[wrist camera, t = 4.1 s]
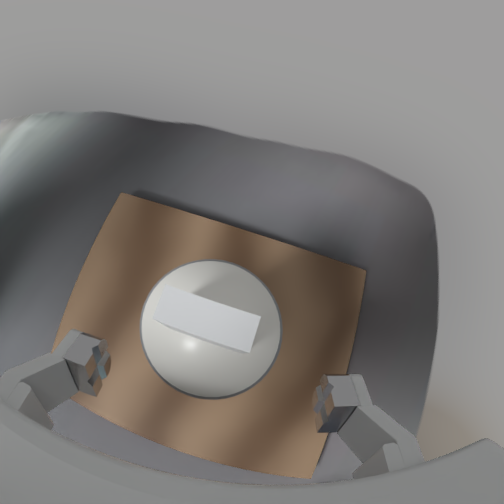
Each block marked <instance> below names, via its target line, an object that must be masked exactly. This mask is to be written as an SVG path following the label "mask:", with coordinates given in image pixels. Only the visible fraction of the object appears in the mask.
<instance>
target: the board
mask: <svg viewBox="0 0 504 504" xmlns="http://www.w3.org/2000/svg"><path fill="white" fill-rule="evenodd" d="M203 259H217V260H224V261H228V262H232V263H235V264H237V265H240V266H242V267H244V268H245V269H247V270H249V271H250V272H252V273H253V274H255V275H256V276H257V277H258V278H259V279H260V280H262V281H263V282H264V284H265V285H266V286H267V287H268V288H269V290H270V291H271V293H272V294H273V296H274V298H275V300H276V302H277V304H278V307H279V310H280V313H281V318H282V327H283V334H282V343H281V348H280V351H279V354H278V357H277V359H276V361H275V363H274V365H273V367H272V368H271V370H270V371H269V372H268V374H267V375H266V376H265V377H264V378H263V379H262V380H261V381H260V382H259V383H258V384H256V385H255V386H254V387H253V388H251V389H249V390H247V391H246V392H244V393H241V394H239V395H237V396H234V397H230V398H226V399H218V400H206V399H199V398H195V397H191V396H188V395H185V394H183V393H181V392H179V391H177V390H175V389H174V388H172V387H170V386H169V385H168V384H166V383H165V382H164V381H163V380H162V379H161V378H160V377H159V376H158V375H157V374H156V373H155V371H154V370H153V369H152V367H151V366H150V364H149V362H148V360H147V359H146V356H145V354H144V351H143V348H142V344H141V340H140V317H141V312H142V308H143V305H144V303H145V300H146V298H147V296H148V294H149V293H150V291H151V290H152V288H153V287H154V286H155V284H156V283H157V282H158V281H159V280H160V279H161V278H162V277H163V276H164V275H165V274H167V273H168V272H170V271H171V270H173V269H174V268H176V267H178V266H180V265H183V264H185V263H188V262H192V261H196V260H203ZM365 276H366V270H363V269H360V268H358V267H355V266H352V265H349V264H346V263H343V262H340V261H337V260H334V259H331V258H328V257H325V256H322V255H319V254H316V253H313V252H310V251H307V250H304V249H301V248H298V247H295V246H292V245H289V244H286V243H283V242H280V241H277V240H274V239H271V238H268V237H265V236H262V235H259V234H255V233H252V232H249V231H246V230H243V229H240V228H237V227H234V226H230V225H227V224H224V223H221V222H218V221H214V220H211V219H208V218H205V217H202V216H198V215H195V214H192V213H189V212H185V211H182V210H179V209H176V208H172V207H169V206H166V205H162V204H159V203H156V202H153V201H149V200H146V199H142V198H139V197H136V196H132V195H129V194H126V193H122V192H121V193H120V195H119V197H118V199H117V200H116V202H115V204H114V206H113V207H112V209H111V211H110V213H109V215H108V216H107V218H106V220H105V222H104V224H103V226H102V228H101V230H100V232H99V234H98V236H97V238H96V240H95V242H94V244H93V246H92V248H91V250H90V252H89V254H88V256H87V258H86V261H85V263H84V265H83V267H82V269H81V272H80V274H79V276H78V279H77V281H76V284H75V286H74V288H73V291H72V293H71V296H70V298H69V301H68V304H67V306H66V309H65V312H64V315H63V317H62V320H61V323H60V326H59V329H58V332H57V335H56V339H55V342H54V345H53V348H52V352H51V354H52V353H53V352H54V350H55V349H56V348H57V346H58V345H59V344H60V342H61V341H62V340H63V339H64V337H65V336H66V335H67V333H68V332H69V331H70V330H72V329H76V330H79V331H81V332H85V333H88V334H91V335H93V336H96V337H99V338H102V339H105V340H107V344H108V348H107V350H106V351H107V352H108V353H109V354H110V357H111V368H110V372H109V374H108V376H107V377H106V378H104V379H102V384H103V386H102V388H101V390H100V392H99V394H98V396H97V397H95V396H92V395H89V394H86V393H83V392H80V391H78V393H76V394H75V395H73V396H72V397H70V398H71V399H72V400H74V401H75V402H77V403H79V404H80V405H82V406H84V407H85V408H87V409H89V410H90V411H92V412H94V413H96V414H97V415H99V416H101V417H103V418H105V419H107V420H109V421H111V422H112V423H114V424H116V425H118V426H120V427H123V428H125V429H127V430H129V431H131V432H133V433H135V434H138V435H140V436H142V437H144V438H147V439H149V440H152V441H154V442H156V443H159V444H162V445H164V446H167V447H169V448H172V449H175V450H178V451H181V452H184V453H187V454H190V455H193V456H196V457H199V458H202V459H206V460H209V461H213V462H216V463H220V464H224V465H228V466H232V467H237V468H241V469H246V470H251V471H256V472H261V473H267V474H274V475H280V476H288V477H297V478H307V479H311V477H312V475H313V472H314V470H315V467H316V465H317V462H318V460H319V457H320V455H321V452H322V449H323V446H324V444H325V441H326V438H327V435H328V433H317V430H316V424H315V418H316V416H317V413H316V412H315V411H314V410H313V406H312V398H313V393H314V391H315V389H316V387H318V386H319V385H321V384H320V379H321V377H322V375H324V374H346V372H347V368H348V364H349V360H350V356H351V352H352V347H353V343H354V338H355V334H356V329H357V324H358V319H359V313H360V308H361V302H362V296H363V290H364V283H365Z"/></svg>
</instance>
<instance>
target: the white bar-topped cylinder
mask: <svg viewBox="0 0 504 504" xmlns="http://www.w3.org/2000/svg"><path fill="white" fill-rule="evenodd" d="M282 334H283V327H282V318H281V313H280V310H279V307H278V304H277V302H276V300H275V298H274V296H273V294H272V293H271V291H270V290H269V288H268V287H267V286H266V285H265V284H264V282H263V281H262V280H260V279H259V278H258V277H257V276H256V275H255V274H253V273H252V272H250V271H249V270H247V269H245V268H244V267H242V266H240V265H237V264H235V263H232V262H228V261H224V260H217V259H203V260H196V261H192V262H188V263H185V264H183V265H180V266H178V267H176V268H174V269H173V270H171V271H170V272H168V273H167V274H165V275H164V276H163V277H162V278H161V279H160V280H159V281H158V282H157V283H156V284H155V286H154V287H153V288H152V290H151V291H150V293H149V294H148V296H147V298H146V300H145V303H144V305H143V308H142V312H141V317H140V340H141V344H142V348H143V351H144V354H145V356H146V359H147V360H148V362H149V364H150V366H151V367H152V369H153V370H154V371H155V373H156V374H157V375H158V376H159V377H160V378H161V379H162V380H163V381H164V382H165V383H166V384H168V385H169V386H170V387H172V388H174V389H175V390H177V391H179V392H181V393H183V394H185V395H188V396H191V397H195V398H199V399H206V400H218V399H226V398H230V397H234V396H237V395H239V394H241V393H244V392H246V391H247V390H249V389H251V388H253V387H254V386H255V385H256V384H258V383H259V382H260V381H261V380H262V379H263V378H264V377H265V376H266V375H267V374H268V372H269V371H270V370H271V368H272V367H273V365H274V363H275V361H276V359H277V357H278V354H279V351H280V348H281V343H282Z"/></svg>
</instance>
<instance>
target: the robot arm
mask: <svg viewBox="0 0 504 504" xmlns="http://www.w3.org/2000/svg"><path fill="white" fill-rule="evenodd" d="M107 348H108V344H107V340H105V339H102V338H99V337H96V336H93V335H91V334H88V333H85V332H81V331H79V330H76V329H72V330H70V331H69V332H68V333H67V335H66V336H65V337H64V339H63V340H62V341H61V342H60V344H59V345H58V346H57V348H56V349H55V350H54V352H53V353H52V354H51V353H47V354H45V355H42V356H40V357H38V358H35V359H33V360H30V361H28V362H26V363H23V364H21V365H18V366H16V367H14V368H11V369H9V370H6V371H5V373H4V374H3V375H2V377H1V378H0V504H504V448H503V447H501V446H500V445H498V444H497V443H495V442H494V441H492V440H490V439H488V438H484V439H481V440H479V441H477V442H475V443H472V444H470V445H468V446H466V447H463V448H461V449H459V450H456V451H454V452H451V453H449V454H446V455H444V456H441V457H438V458H435V459H433V460H430V461H427V462H425V461H424V458H423V455H422V453H421V450H420V447H419V445H418V442H417V439H416V437H415V436H414V435H412V434H411V433H410V432H409V431H407V430H406V429H405V428H404V427H402V426H401V425H400V424H399V423H398V422H396V421H395V420H394V419H393V418H391V417H390V416H389V415H388V414H387V413H385V412H384V411H383V410H382V409H380V408H379V407H378V406H377V405H373V404H372V401H371V398H370V395H369V393H368V390H367V387H366V384H365V382H364V379H363V377H362V375H361V374H324V375H322V377H321V379H320V384H321V385H319V386H318V387H316V389H315V391H314V393H313V398H312V406H313V410H314V411H315V412H316V413H317V416H316V418H315V424H316V430H317V433H332V432H338V433H337V434H338V435H339V436H340V437H341V439H342V440H343V441H344V442H345V443H346V444H347V446H348V447H349V448H350V449H351V450H352V451H353V453H354V454H355V455H356V456H357V457H358V458H359V460H360V461H361V462H362V463H363V464H362V465H361V466H360V467H359V468H357V469H356V470H355V471H354V472H353V478H354V479H351V480H344V481H336V482H327V483H316V484H300V485H255V484H239V483H228V482H219V481H211V480H204V479H198V478H192V477H186V476H181V475H176V474H171V473H167V472H163V471H159V470H155V469H151V468H147V467H143V466H140V465H137V464H133V463H130V462H127V461H124V460H121V459H118V458H115V457H112V456H109V455H107V454H104V453H101V452H99V451H96V450H94V449H91V448H89V447H86V446H84V445H82V444H79V443H77V442H75V441H73V440H71V439H69V438H66V437H64V436H62V435H60V434H58V433H56V432H54V431H52V430H51V429H52V427H53V425H54V424H53V421H52V420H51V419H50V417H49V416H48V414H47V412H49V411H50V410H52V409H53V408H55V407H57V406H58V405H60V404H61V403H63V402H64V401H66V400H67V399H69V398H70V397H72V396H73V395H75V394H76V393H78V391H80V392H83V393H86V394H89V395H92V396H95V397H97V396H98V394H99V392H100V390H101V388H102V386H103V384H102V379H104V378H106V377H107V376H108V374H109V372H110V368H111V357H110V354H109V353H108V352H107V351H106V350H107Z"/></svg>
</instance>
